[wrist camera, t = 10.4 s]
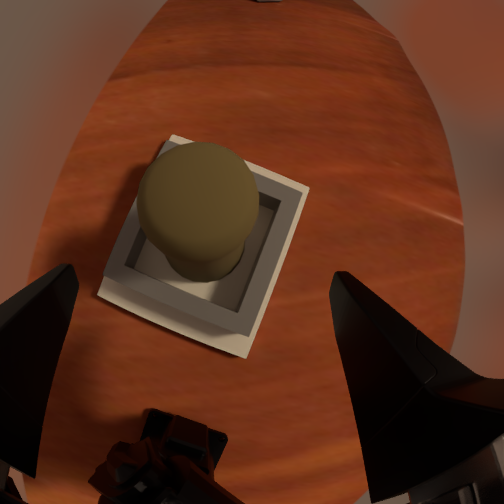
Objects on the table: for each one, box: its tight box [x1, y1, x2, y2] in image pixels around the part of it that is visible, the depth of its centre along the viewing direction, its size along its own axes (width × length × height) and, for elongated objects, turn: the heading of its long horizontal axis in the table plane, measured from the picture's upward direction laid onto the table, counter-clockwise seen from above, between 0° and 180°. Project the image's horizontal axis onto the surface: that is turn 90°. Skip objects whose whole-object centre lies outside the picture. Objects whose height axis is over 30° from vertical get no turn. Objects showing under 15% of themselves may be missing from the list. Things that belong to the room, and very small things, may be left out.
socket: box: [97, 134, 309, 359], centre depth 21 cm, size 14×12×4 cm
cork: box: [136, 142, 259, 283], centre depth 16 cm, size 6×6×11 cm
